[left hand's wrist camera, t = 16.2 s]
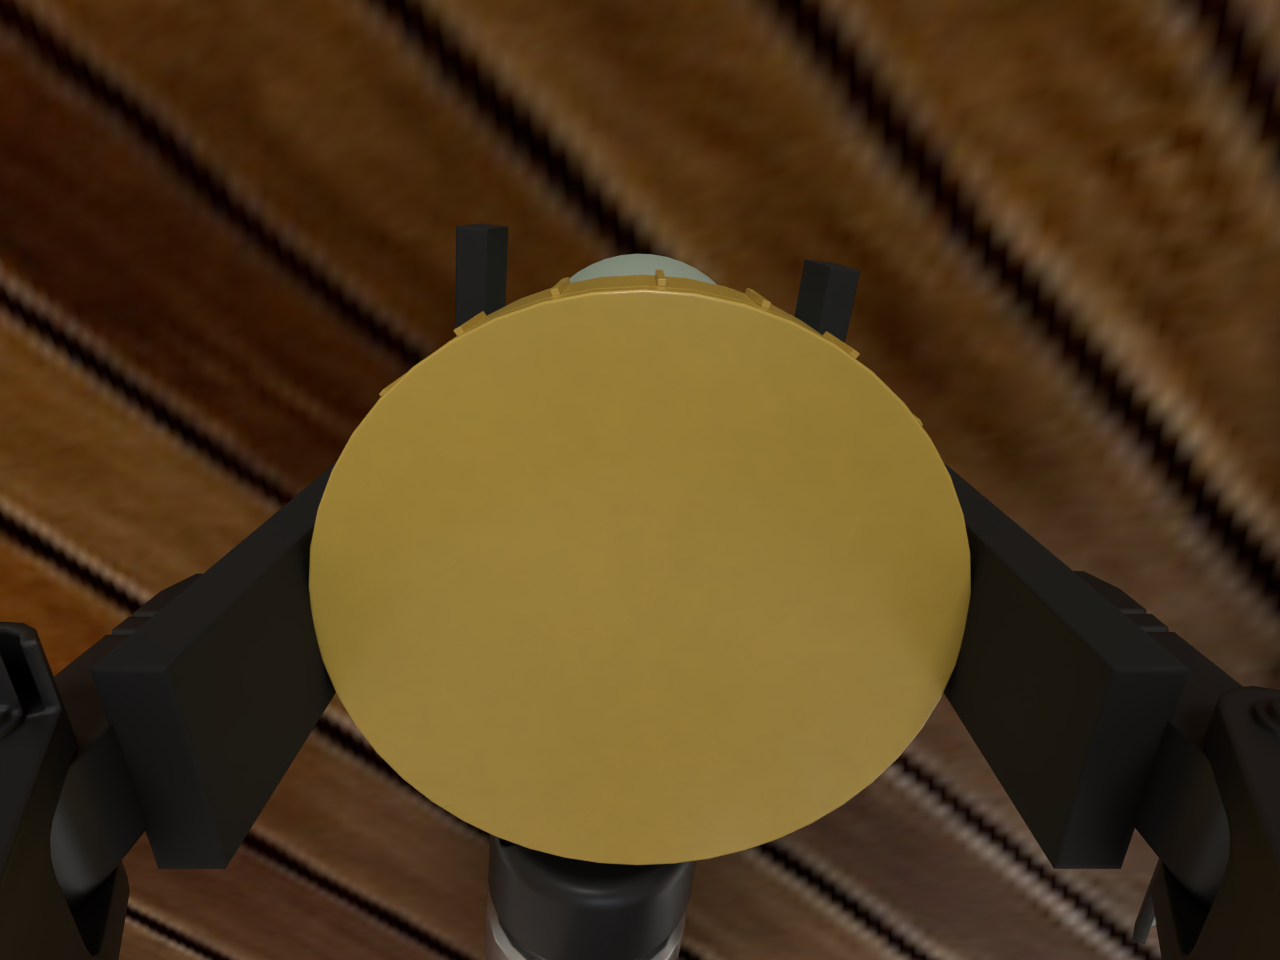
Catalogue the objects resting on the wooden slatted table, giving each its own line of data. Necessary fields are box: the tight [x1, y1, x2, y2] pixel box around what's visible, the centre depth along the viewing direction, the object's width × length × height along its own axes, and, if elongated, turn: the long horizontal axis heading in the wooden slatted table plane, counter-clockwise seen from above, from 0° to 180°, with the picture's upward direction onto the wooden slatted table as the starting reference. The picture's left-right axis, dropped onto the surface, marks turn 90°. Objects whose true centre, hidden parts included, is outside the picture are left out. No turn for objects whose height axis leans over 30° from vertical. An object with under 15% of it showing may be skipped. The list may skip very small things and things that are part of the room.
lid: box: [309, 269, 971, 865], centre depth 11 cm, size 10×10×2 cm
